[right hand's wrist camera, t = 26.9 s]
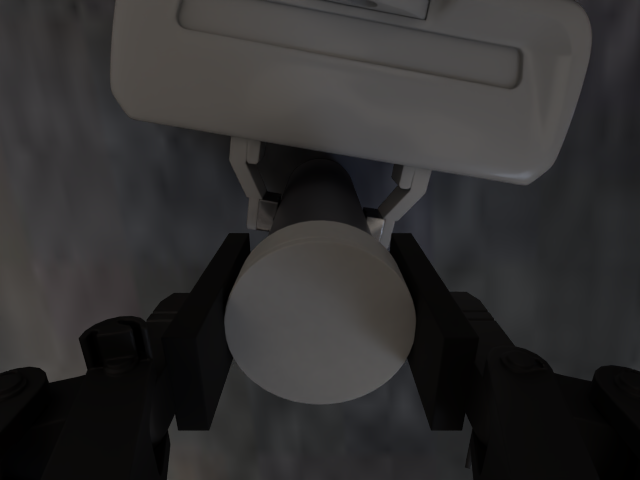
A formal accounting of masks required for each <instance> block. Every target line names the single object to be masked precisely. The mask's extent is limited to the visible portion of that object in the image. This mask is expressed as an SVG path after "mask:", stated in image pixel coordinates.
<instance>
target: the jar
mask: <svg viewBox="0 0 640 480" xmlns="http://www.w3.org/2000/svg"><path fill="white" fill-rule="evenodd" d="M321 220H323V221H334V222H339V223H344V224H348V225H350V226H353V227H356V228H358V229H360V230H362V231H364V232H366V233H368V234H369V235H371V236H372V234H371V232H370V229H369V226H368V223H367V221H366V218H365V215H364V213H363V210H362V207H361V204H360V202H359V199H358V196H357V194H356V191H355V188H354V185H353V183H352V180H351V178H350V176H349V174H348V173H347V171H346V170H345V169H344V168H343V167H342V166H340V165H339V164H337V163H336V162H333V161H331V160H327V159H313V160H309V161H307V162H304V163H303V164H301V165H300V166H298V167H297V168H296V169H295V170H294V172H293V173H292V174H291V176H290V178H289V180H288V183H287V186H286V188H285V191H284V194H283V196H282V199H281V202H280V205H279V207H278V210H277V213H276V216H275V218H274V221H273V224H272V226H271V229H270V232H269V235H271V234H273V233H274V232H276V231H278V230H280V229H282V228H285V227H287V226H290V225H293V224H297V223H301V222H307V221H321ZM269 235H268V236H269Z"/></svg>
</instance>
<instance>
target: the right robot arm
mask: <svg viewBox="0 0 640 480" xmlns="http://www.w3.org/2000/svg"><path fill="white" fill-rule="evenodd" d="M390 254H391V255H392V257H393V258H394V260H395V262H396V263H397V265H398V268H399V270H400V272H401V274H402V276H403V279H404V281H405V283H406V285H407V287H408V290H409V292H410V294H411V297H412V299H413V303H414V307H415V311H416V327H415V336H414V342H413V345H412V348H411V350H410V353H409V355H408V357H407V359H408V362H409V365H410V368H411V371H412V374H413V377H414V380H415V383H416V386H417V389H418V392H419V395H420V398H421V401H422V404H423V407H424V410H425V413H426V417H427V420H428V423H429V426H430V429H431V430H462V428H463V422H464V417H465V412H466V415H467V417H468V419H469V421H470V423H471V426H472V428H473V429H472V434H471V439H470V444H469V449H468V454H467V459H466V465H465V468H470V466H471V461H472V471H473V480H640V371H637V370H633V369H631V368H627V367H621V366H613V365H609V366H601V367H600V368H599V369H597V370H596V371H595V374H594V377H593V380H592V381H587V380H582V379H578V378H573V377H568V376H563V375H560V374H556V373H554V372H553V370H552V368H551V367H550V366H549V364H548V363H547V362H546V361H545V360H544V359H542V358H541V357H540V356H538V355H537V354H535V353H533V352H531V351H528V350H526V349H523V348H519V347H515V345H514V344H513V343H512V341H511V340H510V339H509V338H508V336H507V335H506V334H505V332H504V331H503V330H502V329H501V327H500V326H499V325H498V323H497V322H496V321H494V318H493V317H492V316H491V314H490V313H489V312H487V309H486V308H485V307H484V305H483V304H482V303H481V301H480V300H478V299H477V298H475V297H474V296H472V295H471V294H469V293H467V292H449V291H448V289H447V287H446V286H445V284H444V283H443V281H442V280H441V278H440V277H439V275H438V274H437V272H436V271H435V269H434V268H433V266H432V265H431V263H430V261H429V260H428V258H427V257H426V255H425V254H424V252H423V251H422V249H421V248H420V246H419V245H418V243H417V242H416V240H415V239H414V237H413V236H412V234H411V233H391V244H390ZM249 255H250V241H249V233H229V234H228V236H227V237H226V239H225V240H224V242H223V244H222V245H221V247H220V248H219V250H218V251H217V253H216V254H215V256H214V257H213V259H212V260H211V262H210V263H209V265H208V266H207V268H206V269H205V271H204V273H203V274H202V276H201V277H200V279H199V280H198V282H197V283H196V285H195V286H194V288H193V289H192V291H191V292H190V293H173V294H172V295H170V296H169V297H167V298H166V299H164V300H162V301H161V302H160V303H159V305H158V306H157V307H156V308H155V310H154V311H153V314H151V315H150V316H149V318H148V319H147V322H145V321H144V320H143V319H141V318H138V317H134V316H122V317H116V318H111V319H107V320H105V321H102V322H100V323H97V324H95V325H93V326H92V327H90V328H89V329H87V330H86V331H84V333H83V334H82V335H81V336H80V337H79V341H80V345H81V348H82V352H83V355H84V359H85V362H86V366H87V369H88V370H87V373H86V375H83V376H79V377H75V378H70V379H65V380H61V381H56V382H51V383H49V382H48V379H47V376H46V373H45V372H44V371H43V370H42V369H40V368H35V367H24V368H17V369H13V370H9V371H6V372H3V373H0V480H167V472H168V462H169V453H170V439H169V434H168V428H169V426H170V424H171V421H172V419H173V417H174V415H175V416H176V421H177V426H178V430H209V429H210V426H211V423H212V420H213V417H214V414H215V411H216V408H217V405H218V402H219V399H220V396H221V393H222V390H223V387H224V384H225V381H226V378H227V375H228V372H229V369H230V366H231V363H232V360H233V356H232V354H231V352H230V350H229V347H228V344H227V341H226V334H225V325H224V314H225V308H226V304H227V301H228V298H229V295H230V293H231V290H232V288H233V286H234V284H235V282H236V279H237V277H238V275H239V273H240V271H241V268H242V266H243V264H244V262H245V260H246V259H247V257H248V256H249Z"/></svg>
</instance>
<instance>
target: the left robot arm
mask: <svg viewBox="0 0 640 480" xmlns="http://www.w3.org/2000/svg"><path fill="white" fill-rule="evenodd" d="M591 46H592V29H591V24H590V20H589V18H588V15H587V13H586V12H585V10H584V9H583V8H582V7H581V6H580V4H578V3H577V2H576V1H575V0H116V1H115V9H114V17H113V29H112V41H111V62H110V85H111V91H112V94H113V96H114V97H115V99H116V100H117V102H118V103H119V105H120V106H121V108H122V109H123V110H124V112H125V113H126V114H127V116H128V117H130V118H131V119H134V120H139V121H144V122H150V123H156V124H162V125H168V126H174V127H180V128H186V129H191V130H197V131H203V132H209V133H215V134H221V135H227V136H231V143H230V156H229V161H230V163H231V165H232V167H233V169H234V171H235V173H236V176H237V178H238V180H239V182H240V184H241V186H242V188H243V190H244V192H245V194H246V196H247V197H249V205H248V216H247V229H252V230H261V231H268V232H270V229H271V226H272V224H273V221H274V218H275V216H276V213H277V210H278V207H279V205H280V202H281V194H279V193H274V192H268V191H267V190H266V187H265V185H264V182H263V180H262V177H261V175H260V173H259V170H258V168H257V165H256V164H257V163H258V162H259V161H260V160H261V159H262V158H263V157H264V155H265V147H266V142H268V143H274V144H280V145H286V146H292V147H298V148H304V149H310V150H316V151H322V152H327V153H333V154H339V155H345V156H351V157H357V158H363V159H369V160H375V161H381V162H387V163H392V164H394V167H393V172H392V176H391V177H392V179H393V180H394V181H395V182H396V183H397V184H398V186H397V187H396V188H395V189H394V190H393V191H392V193H391V194H390V195H389V196H388V197H387V198H386V199H385V201H384V202H383V203H382V204H381V205H380V206H379V207H378V209H373V208H366V207H363V213H364V215H365V218H366V221H367V223H368V226H369V229H370V232H371V234H372V237H374V238H375V239H377V240H378V241H379V242H380V243H381V244H382V245H383V246H384V247H385V248H386V249H388V246H389V243H390V239H391V233H392V231H393V227H394V223H395V221H398V220H399V219H400V218H401V217H402V216H403V215H404V214H405V213H406V212H407V211H408V210H409V209H410V208H411V207H412V206H413V205H414V204H415V203H416V202H417V201H418V200H419V199H420V198H421V197H422V196H423V195H424V194H425V193H426V189H427V186H428V182H429V179H430V175H431V172H432V170H434V171H440V172H446V173H452V174H458V175H463V176H469V177H475V178H481V179H487V180H493V181H499V182H505V183H511V184H517V185H528V184H530V183H532V182H533V181H535V180H536V179H537V178H539V177H540V176H541V175H542V174H544V173H545V172H546V171H547V170H549V169H550V168H551V167H552V165H553V164H554V162H555V160H556V158H557V156H558V154H559V152H560V149H561V147H562V145H563V142H564V139H565V137H566V134H567V131H568V129H569V126H570V123H571V120H572V117H573V114H574V111H575V108H576V105H577V102H578V99H579V96H580V93H581V89H582V86H583V82H584V79H585V75H586V71H587V67H588V63H589V59H590V54H591Z"/></svg>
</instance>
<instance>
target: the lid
mask: <svg viewBox="0 0 640 480" xmlns="http://www.w3.org/2000/svg"><path fill="white" fill-rule="evenodd" d="M224 325H225V334H226V341H227V344H228V347H229V350H230V352H231V354H232V356H233V358H234V360H235V361H236V363H237V364H238V366H239V367H240V368H241V369H242V371H243V372H244V373H245V374H246V375H247V376H248V377H249V378H250V379H251V380H252V381H254V382H255V383H256V384H258V385H259V386H260V387H262V388H263V389H265V390H267V391H269V392H271V393H272V394H275V395H277V396H279V397H282V398H285V399H288V400H292V401H295V402H301V403H307V404H333V403H340V402H345V401H349V400H353V399H355V398H358V397H361V396H363V395H366V394H368V393H370V392H372V391H374V390H375V389H377V388H378V387H380V386H382V385H383V384H384V383H385V382H387V381H388V380H389V379H390V378H391V377H392V376H393V375H394V374H395V373H396V372H397V371H398V370H399V369H400V367H401V366H402V365H403V363H404V362H405V360H406V358H407V357H408V355H409V353H410V350H411V348H412V345H413V342H414V336H415V327H416V311H415V307H414V303H413V299H412V297H411V294H410V292H409V290H408V287H407V285H406V283H405V281H404V279H403V276H402V274H401V272H400V270H399V268H398V265H397V263H396V262H395V260H394V258H393V257H392V255H391V254H390V253H389V252H388V250H387V249H386V248H385V247H384V246H383V245H382V244H381V243H380V242H379V241H378V240H377V239H375V238H374V237H372V236H371V235H369V234H368V233H366V232H364V231H362V230H360V229H358V228H356V227H353V226H350V225H348V224H344V223H339V222H334V221H323V220H321V221H307V222H301V223H297V224H293V225H290V226H287V227H285V228H282V229H280V230H278V231H276V232H274V233H273V234H271V235H269V236H268V237H267V238H265V239H264V240H263V241H262V242H260V243H259V244H258V245H257V246H256V247H255V248H254V249H253V251H252V252H251V253H250V255H249V256H248V257H247V259H246V260H245V262H244V264H243V266H242V268H241V271H240V273H239V275H238V277H237V279H236V282H235V284H234V286H233V288H232V290H231V293H230V295H229V298H228V301H227V304H226V308H225V314H224Z"/></svg>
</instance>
